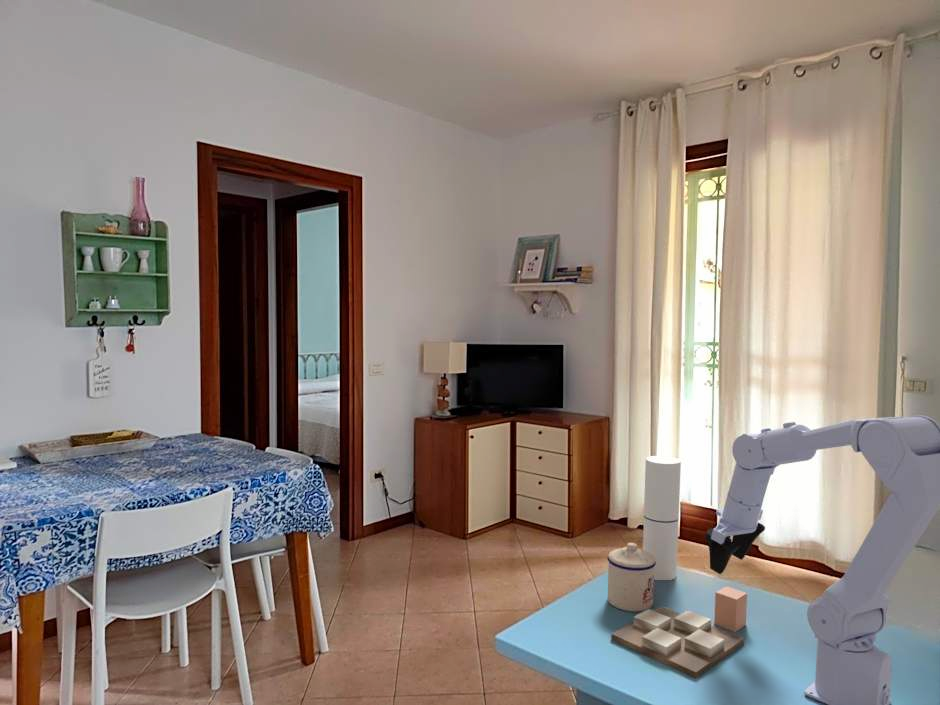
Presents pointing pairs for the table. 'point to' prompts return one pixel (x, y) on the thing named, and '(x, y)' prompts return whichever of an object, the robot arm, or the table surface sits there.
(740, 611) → the terracotta block
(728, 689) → the table surface
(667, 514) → the cylindrical container
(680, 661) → the walnut board
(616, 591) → the teacup with lid
